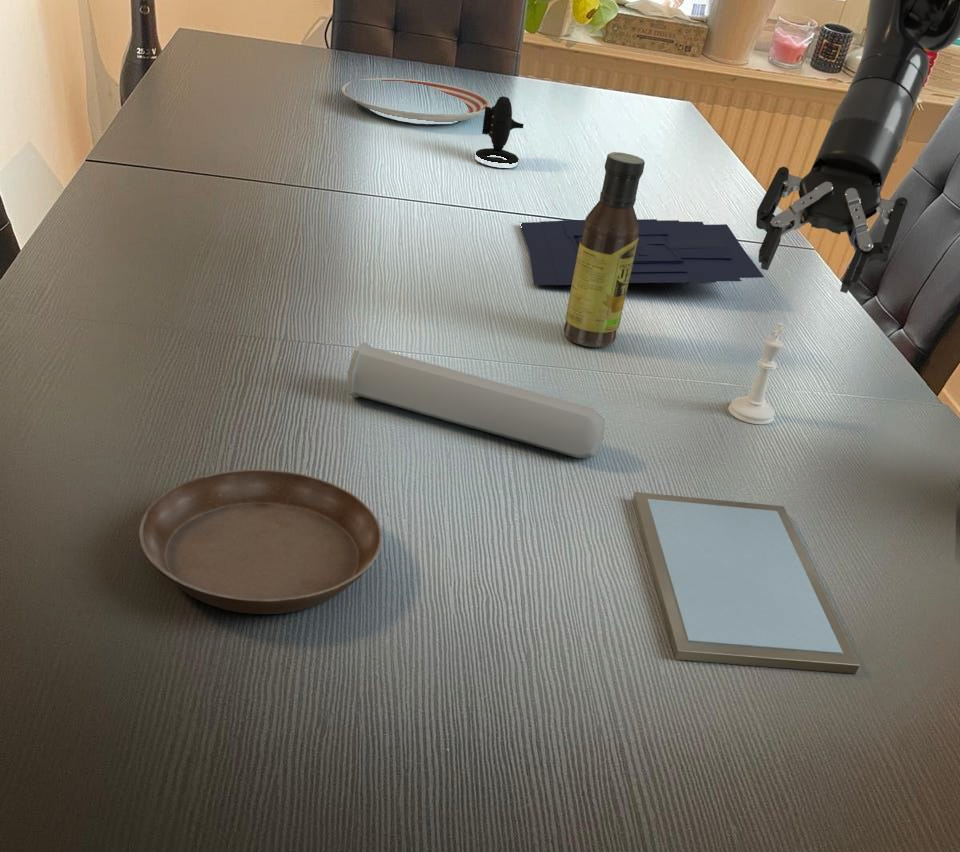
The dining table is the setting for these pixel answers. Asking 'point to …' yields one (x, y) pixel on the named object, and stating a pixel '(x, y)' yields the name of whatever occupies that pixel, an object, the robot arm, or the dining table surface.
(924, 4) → the robot arm
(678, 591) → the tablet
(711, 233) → the papers
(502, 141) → the webcam
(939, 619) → the dining table surface
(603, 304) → the sauce bottle
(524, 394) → the tube
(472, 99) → the dinner plate
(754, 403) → the chess piece
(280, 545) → the plant saucer
